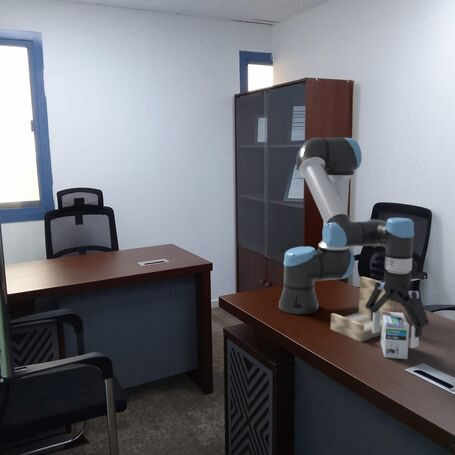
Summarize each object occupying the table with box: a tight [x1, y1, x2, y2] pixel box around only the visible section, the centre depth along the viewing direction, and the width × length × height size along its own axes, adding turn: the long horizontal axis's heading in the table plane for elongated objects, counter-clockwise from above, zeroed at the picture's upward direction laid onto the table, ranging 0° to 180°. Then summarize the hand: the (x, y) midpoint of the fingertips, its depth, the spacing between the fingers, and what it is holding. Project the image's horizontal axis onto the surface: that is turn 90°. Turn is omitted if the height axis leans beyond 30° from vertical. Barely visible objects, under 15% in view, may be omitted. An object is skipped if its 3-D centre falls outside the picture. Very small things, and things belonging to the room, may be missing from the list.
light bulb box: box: [380, 311, 410, 360], centre depth 139 cm, size 11×7×11 cm, turn 168°
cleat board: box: [330, 276, 395, 343], centre depth 154 cm, size 13×16×16 cm
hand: (394, 339), depth 139 cm, fingers open, 13 cm apart
